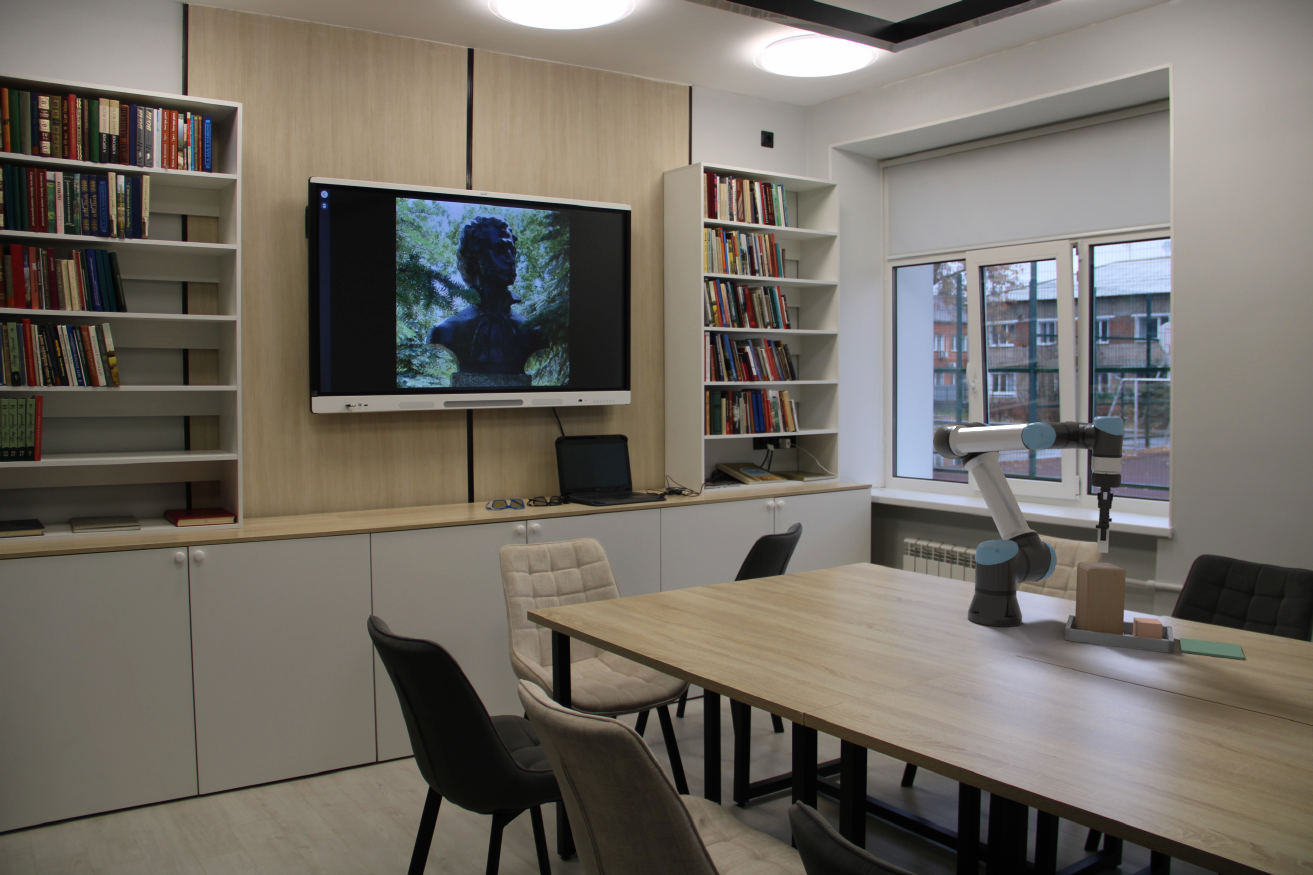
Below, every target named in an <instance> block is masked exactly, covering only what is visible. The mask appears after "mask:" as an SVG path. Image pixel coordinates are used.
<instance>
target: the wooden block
mask: <svg viewBox="0 0 1313 875" xmlns="http://www.w3.org/2000/svg"><path fill="white" fill-rule="evenodd" d="M1125 593H1126V569H1124V568H1122V567H1121V566H1118V565H1116V564H1114V563H1112V562H1097V561H1096V562H1093V561H1091V562H1090V561H1081V562H1078V563H1077V566H1076V592H1075V594H1076V595H1075V615H1074V616H1075V627H1074V629H1077V630H1085V631H1094V632H1102V633H1111V634H1119V635H1124V633H1123V625H1124V621H1125V620H1124V618H1125V615H1124V614H1125V600H1126V599H1125V598H1126V597H1125V596H1126V595H1125Z"/></svg>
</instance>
